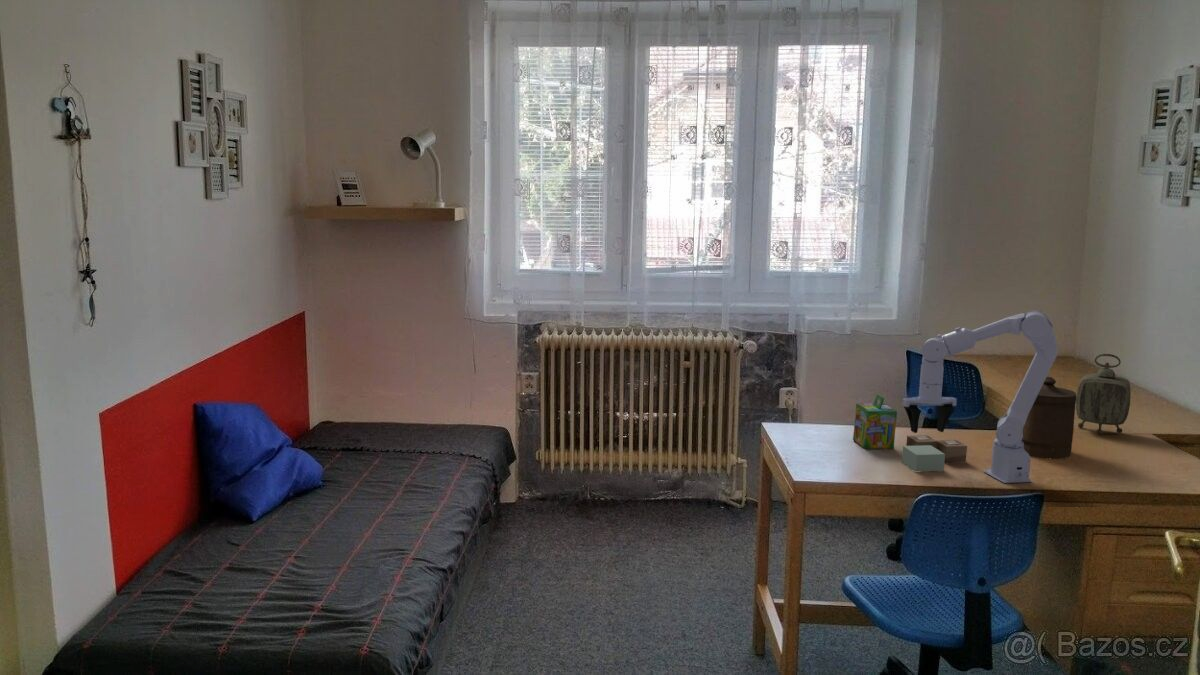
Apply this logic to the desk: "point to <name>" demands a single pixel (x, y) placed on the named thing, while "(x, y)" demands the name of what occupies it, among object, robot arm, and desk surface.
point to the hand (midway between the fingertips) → (927, 431)
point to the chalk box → (875, 425)
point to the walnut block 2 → (952, 450)
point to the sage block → (923, 458)
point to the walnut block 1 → (921, 441)
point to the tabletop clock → (1103, 397)
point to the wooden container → (1050, 422)
